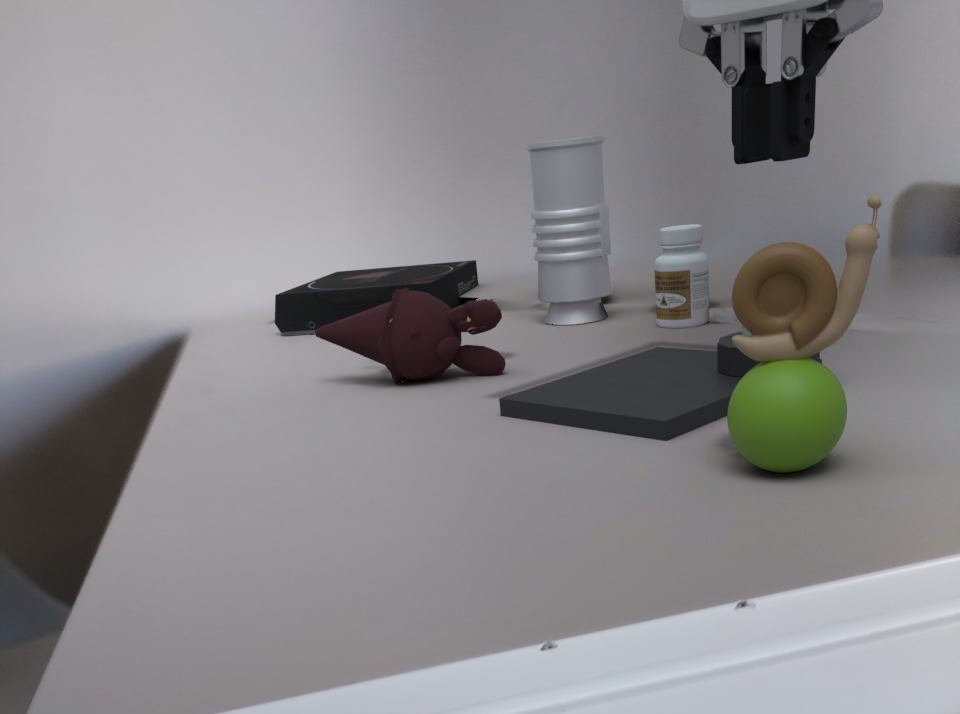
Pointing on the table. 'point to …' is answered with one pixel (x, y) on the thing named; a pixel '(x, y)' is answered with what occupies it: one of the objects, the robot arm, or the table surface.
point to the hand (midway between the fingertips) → (771, 158)
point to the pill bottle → (682, 278)
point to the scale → (641, 392)
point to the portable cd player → (368, 293)
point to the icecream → (419, 336)
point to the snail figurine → (794, 349)
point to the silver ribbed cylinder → (571, 228)
